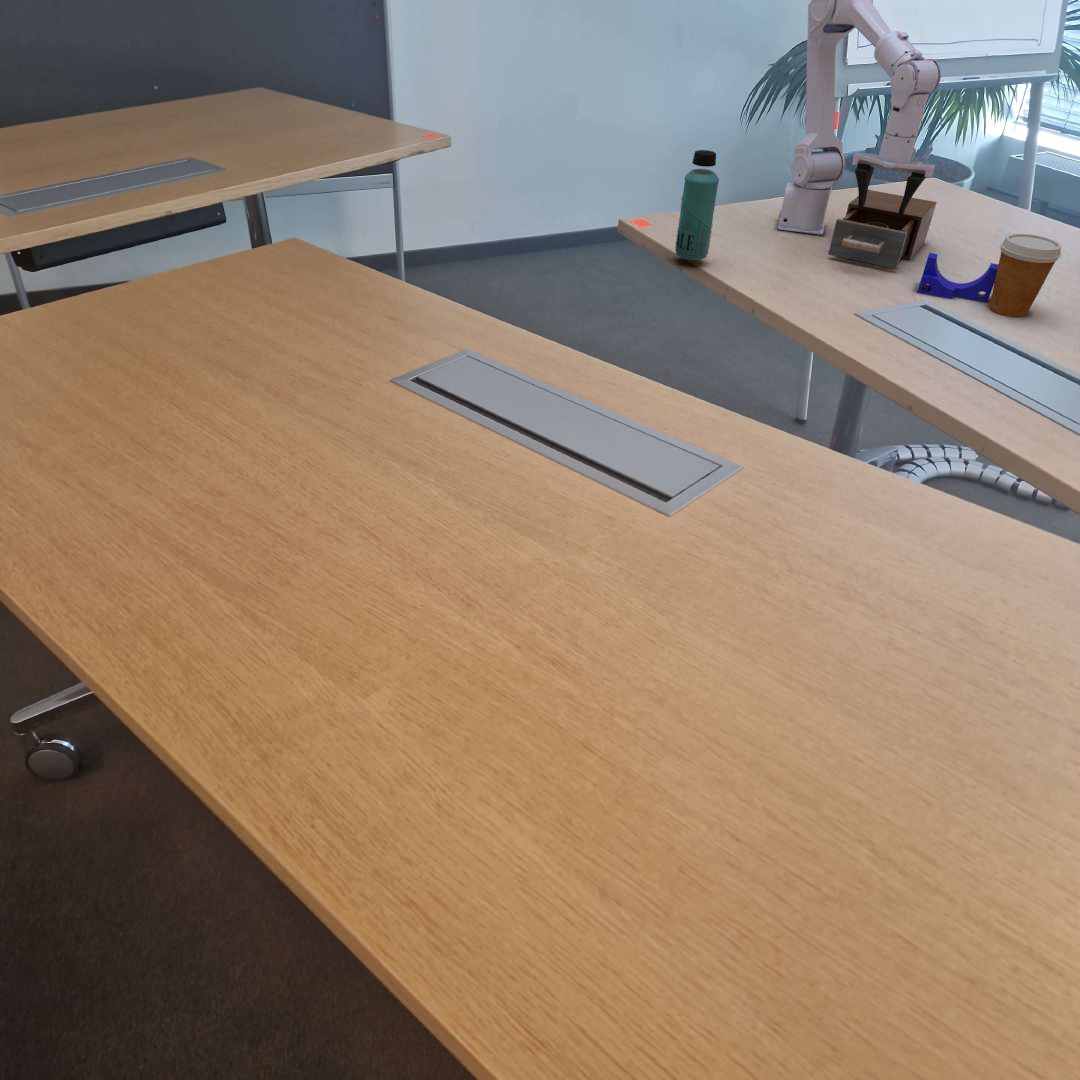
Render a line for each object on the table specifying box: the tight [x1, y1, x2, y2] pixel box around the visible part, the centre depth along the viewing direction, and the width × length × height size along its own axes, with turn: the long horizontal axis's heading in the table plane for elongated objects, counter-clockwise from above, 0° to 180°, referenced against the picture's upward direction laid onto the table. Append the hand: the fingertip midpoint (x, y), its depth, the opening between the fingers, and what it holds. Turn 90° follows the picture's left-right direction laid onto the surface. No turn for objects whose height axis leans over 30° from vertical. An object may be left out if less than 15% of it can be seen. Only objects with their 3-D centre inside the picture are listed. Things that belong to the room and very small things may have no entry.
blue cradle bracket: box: [916, 252, 999, 303], centre depth 159 cm, size 12×4×6 cm, turn 65°
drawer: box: [828, 208, 917, 270], centre depth 171 cm, size 17×13×7 cm
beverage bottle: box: [674, 149, 720, 261], centre depth 163 cm, size 6×7×20 cm
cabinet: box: [845, 189, 937, 261], centre depth 180 cm, size 13×14×8 cm
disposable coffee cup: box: [988, 233, 1062, 317], centre depth 152 cm, size 10×10×12 cm
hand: (880, 210), depth 169 cm, fingers open, 7 cm apart
